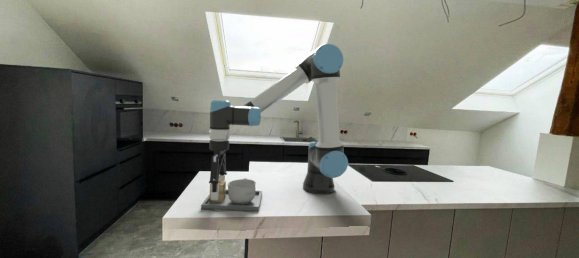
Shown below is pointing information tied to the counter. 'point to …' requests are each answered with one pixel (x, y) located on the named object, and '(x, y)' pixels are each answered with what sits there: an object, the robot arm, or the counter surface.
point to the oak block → (220, 191)
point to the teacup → (241, 191)
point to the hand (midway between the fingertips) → (218, 194)
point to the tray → (232, 204)
